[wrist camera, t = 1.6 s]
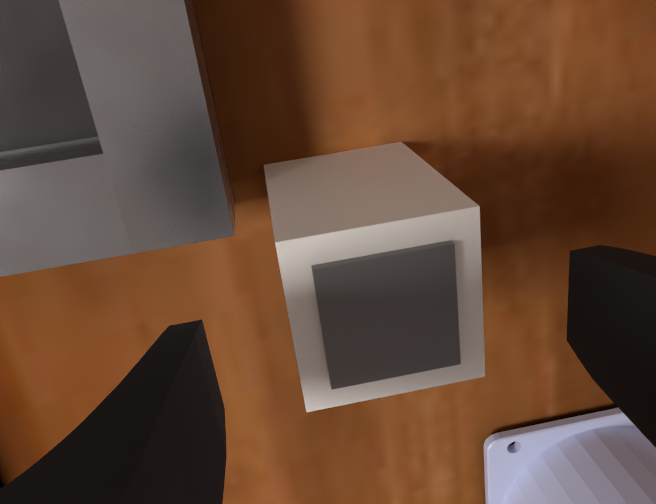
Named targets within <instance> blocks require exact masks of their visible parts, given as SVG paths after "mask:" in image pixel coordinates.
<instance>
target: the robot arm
mask: <svg viewBox="0 0 656 504" xmlns="http://www.w3.org/2000/svg"><path fill="white" fill-rule="evenodd" d="M567 341H568V343H569V344H570V346H571V348H572V349H573V351H574V352H575V354H576V355H577V357H578V358H579V360H580V361H581V363H582V364H583V366H584V367H585V369H586V370H587V371H588V373H589V374H590V376H591V377H592V378H593V380H594V381H595V382H596V383H597V384H598V386H599V387H600V388H601V389H602V390H603V391H604V392H605V393H606V394H607V396H608V397H609V398H610V399H611V400H612V401H613V402H614V403H615V404H616V406H617V407H618V408H614V409H609V410H604V411H599V412H595V413H590V414H585V415H580V416H575V417H571V418H566V419H561V420H556V421H551V422H547V423H542V424H537V425H532V426H527V427H523V428H518V429H513V430H508V431H503V432H499V433H495V434H492V435H491V436H489V437H488V438H487V439H486V441H485V443H484V468H485V496H486V504H656V256H652V255H648V254H644V253H640V252H635V251H631V250H626V249H621V248H616V247H609V246H601V245H599V246H594V247H588V248H583V249H578V250H572V251H570V263H569V291H568V319H567ZM512 442H515V443H514V444H513V445H510V446H508V445H509V444H510V443H512ZM225 467H226V430H225V409H224V405H223V401H222V397H221V393H220V389H219V385H218V381H217V377H216V373H215V369H214V365H213V361H212V357H211V353H210V350H209V346H208V342H207V338H206V334H205V330H204V326H203V322H202V320H198V321H193V322H187V323H182V324H177V325H171V326H169V327H168V328H167V329H166V330H165V331H164V332H163V333H162V334H161V335H160V337H159V338H158V339H157V340H156V341H155V343H154V344H153V345H152V346H151V347H150V349H149V350H148V351H147V352H146V353H145V355H144V356H143V357H142V358H141V359H140V361H139V362H138V363H137V364H136V365H135V366H134V367H133V369H132V370H131V371H130V372H129V373H128V374H127V376H126V377H125V378H124V379H123V380H122V381H121V382H120V384H119V385H118V386H117V387H116V388H115V389H114V390H113V391H112V392H111V393H110V394H109V395H108V396H107V397H106V398H105V399H104V400H103V401H102V402H101V403H100V404H99V405H98V406H97V408H96V409H95V410H94V411H93V412H92V413H91V414H90V415H89V416H88V417H87V418H86V419H85V420H84V421H83V422H82V423H81V424H80V425H79V426H78V427H77V428H76V429H74V430H73V431H72V432H71V433H70V434H69V435H68V436H67V437H66V438H65V439H63V440H62V441H61V442H60V443H59V444H58V445H57V446H55V447H54V448H53V449H52V450H51V451H49V452H48V453H47V454H46V455H45V456H44V457H42V458H41V459H40V460H39V461H38V462H36V463H35V464H34V465H33V466H31V467H30V468H29V469H28V470H26V471H25V472H24V473H22V474H21V475H20V476H18V477H17V478H16V479H14V480H13V481H12V482H10V483H9V484H7V485H6V486H5V487H3V488H2V489H1V490H0V504H222V501H223V490H224V479H225Z"/></svg>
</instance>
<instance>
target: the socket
mask: <svg viewBox="0 0 656 504" xmlns="http://www.w3.org/2000/svg"><path fill="white" fill-rule="evenodd" d="M234 230H235V202H234V197H233V192H232V188H231V183H230V178H229V173H228V169H227V164H226V159H225V154H224V149H223V145H222V140H221V135H220V130H219V125H218V121H217V116H216V111H215V106H214V101H213V97H212V92H211V87H210V82H209V77H208V73H207V68H206V63H205V58H204V53H203V49H202V44H201V39H200V34H199V29H198V25H197V20H196V15H195V10H194V5H193V1H192V0H0V277H2V276H8V275H14V274H19V273H25V272H31V271H36V270H42V269H48V268H53V267H59V266H65V265H71V264H76V263H82V262H88V261H93V260H99V259H105V258H110V257H116V256H122V255H127V254H133V253H139V252H145V251H150V250H156V249H162V248H167V247H173V246H179V245H184V244H190V243H196V242H201V241H207V240H213V239H219V238H224V237H230V236H234Z"/></svg>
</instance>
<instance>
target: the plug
mask: <svg viewBox="0 0 656 504" xmlns="http://www.w3.org/2000/svg"><path fill="white" fill-rule="evenodd" d="M263 166H264V172H265V179H266V185H267V192H268V199H269V205H270V212H271V219H272V225H273V232H274V238H275V245H276V250H277V255H278V261H279V266H280V272H281V277H282V283H283V288H284V293H285V299H286V304H287V310H288V315H289V320H290V326H291V331H292V337H293V342H294V347H295V353H296V358H297V364H298V369H299V375H300V380H301V385H302V391H303V396H304V402H305V407H306V412H311V411H316V410H321V409H326V408H331V407H336V406H341V405H346V404H351V403H356V402H361V401H366V400H371V399H376V398H381V397H386V396H391V395H396V394H401V393H406V392H411V391H416V390H421V389H426V388H431V387H436V386H441V385H446V384H451V383H456V382H461V381H466V380H471V379H476V378H481V377H485V358H484V327H483V296H482V265H481V234H480V206H479V205H478V204H476V203H475V202H474V201H473V200H471V199H470V198H469V197H468V196H467V195H465V194H464V193H463V192H462V191H461V190H459V189H458V188H457V187H456V186H454V185H453V184H452V183H451V182H450V181H448V180H447V179H446V178H445V177H444V176H442V175H441V174H440V173H439V172H437V171H436V170H435V169H434V168H433V167H431V166H430V165H429V164H428V163H427V162H425V161H424V160H423V159H422V158H420V157H419V156H418V155H417V154H416V153H414V152H413V151H412V150H411V149H410V148H408V147H407V146H406V145H405V144H403V143H402V142H397V143H391V144H385V145H379V146H373V147H367V148H361V149H355V150H349V151H343V152H338V153H332V154H326V155H320V156H314V157H308V158H302V159H296V160H290V161H284V162H278V163H272V164H266V165H263Z"/></svg>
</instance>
